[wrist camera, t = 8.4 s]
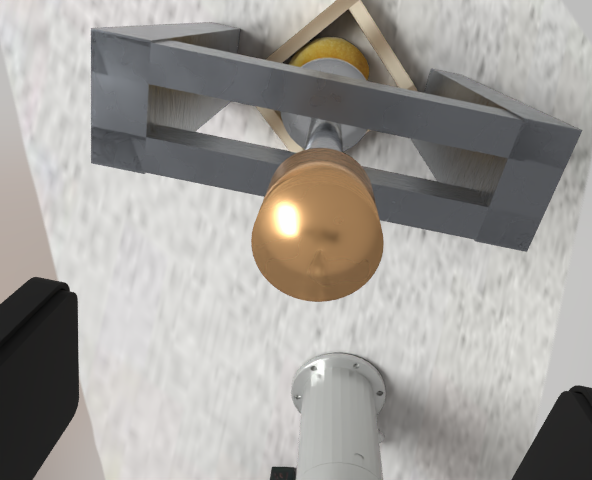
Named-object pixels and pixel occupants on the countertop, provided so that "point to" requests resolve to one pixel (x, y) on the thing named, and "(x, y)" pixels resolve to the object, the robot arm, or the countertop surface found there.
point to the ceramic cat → (282, 473)
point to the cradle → (341, 5)
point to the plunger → (319, 210)
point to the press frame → (330, 107)
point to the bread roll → (331, 53)
